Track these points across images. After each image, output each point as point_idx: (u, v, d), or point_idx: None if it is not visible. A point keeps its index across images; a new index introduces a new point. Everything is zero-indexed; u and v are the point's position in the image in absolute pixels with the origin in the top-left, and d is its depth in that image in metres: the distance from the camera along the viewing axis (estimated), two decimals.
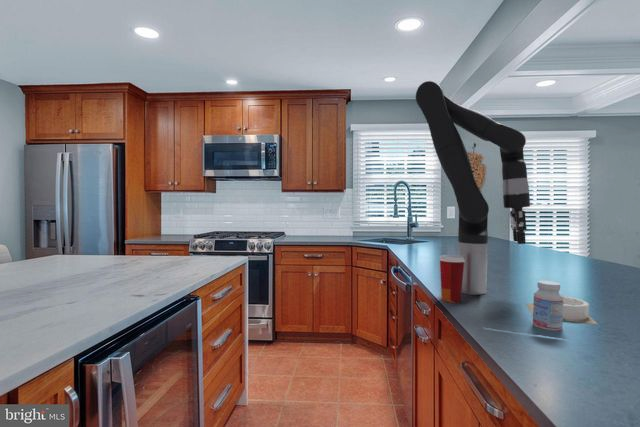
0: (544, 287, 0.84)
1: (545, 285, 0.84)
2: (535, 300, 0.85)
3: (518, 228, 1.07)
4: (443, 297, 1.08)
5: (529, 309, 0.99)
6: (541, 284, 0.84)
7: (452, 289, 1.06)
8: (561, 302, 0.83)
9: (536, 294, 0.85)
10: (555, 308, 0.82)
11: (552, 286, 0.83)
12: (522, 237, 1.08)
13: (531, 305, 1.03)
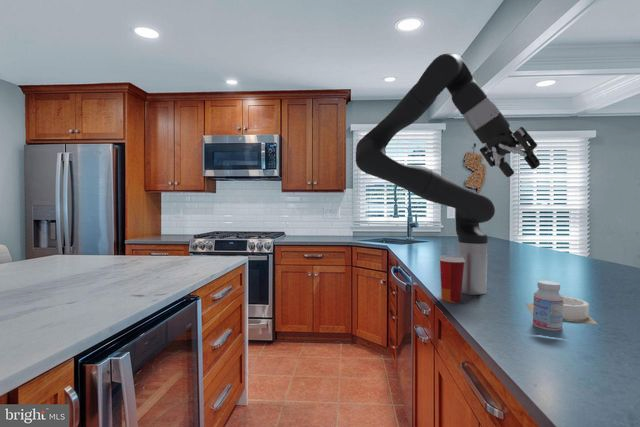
0: (544, 287, 0.84)
1: (545, 285, 0.84)
2: (535, 300, 0.85)
3: (530, 148, 0.81)
4: (443, 297, 1.08)
5: (529, 309, 0.99)
6: (541, 284, 0.84)
7: (452, 289, 1.06)
8: (561, 302, 0.83)
9: (536, 294, 0.85)
10: (555, 308, 0.82)
11: (552, 286, 0.83)
12: (535, 158, 0.83)
13: (531, 305, 1.03)
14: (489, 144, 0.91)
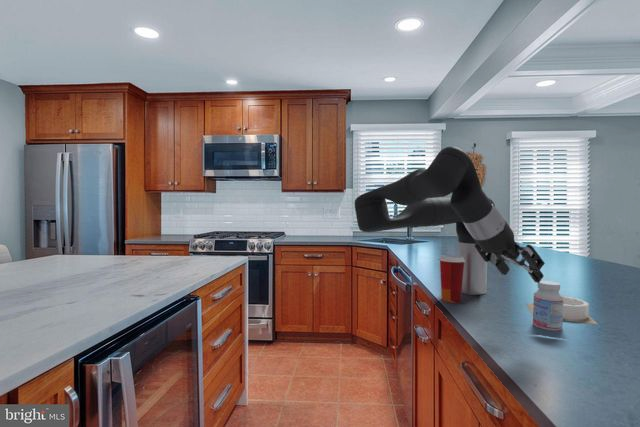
0: (544, 287, 0.84)
1: (545, 285, 0.84)
2: (535, 300, 0.85)
3: (538, 269, 0.73)
4: (443, 297, 1.08)
5: (529, 309, 0.99)
6: (541, 284, 0.84)
7: (452, 289, 1.06)
8: (561, 302, 0.83)
9: (536, 294, 0.85)
10: (555, 308, 0.82)
11: (552, 286, 0.83)
12: (540, 273, 0.76)
13: (531, 305, 1.03)
14: None
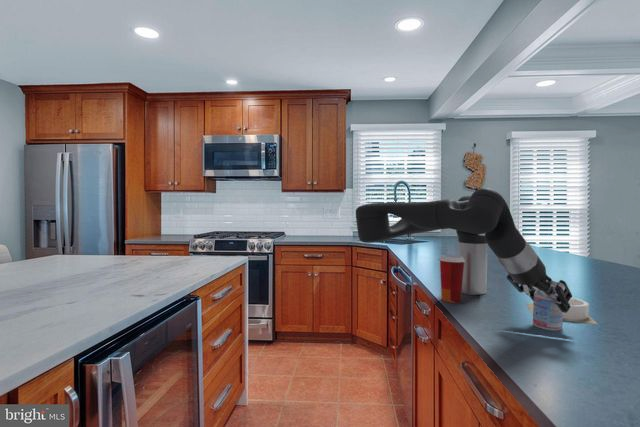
0: None
1: None
2: (535, 300, 0.85)
3: (567, 302, 0.79)
4: (443, 297, 1.08)
5: (529, 309, 0.99)
6: None
7: (452, 289, 1.06)
8: None
9: (536, 294, 0.85)
10: (555, 308, 0.82)
11: None
12: (567, 304, 0.81)
13: (531, 305, 1.03)
14: None
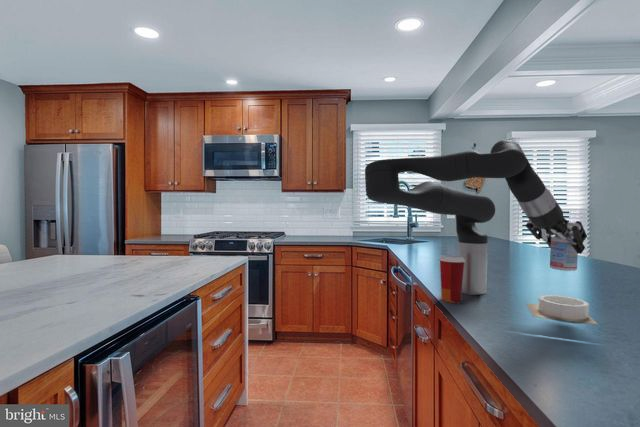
0: None
1: None
2: (552, 244, 0.94)
3: (582, 241, 0.87)
4: (443, 297, 1.08)
5: (529, 309, 0.99)
6: None
7: (452, 289, 1.06)
8: None
9: (553, 238, 0.94)
10: (571, 249, 0.91)
11: None
12: (582, 245, 0.90)
13: (531, 305, 1.03)
14: None
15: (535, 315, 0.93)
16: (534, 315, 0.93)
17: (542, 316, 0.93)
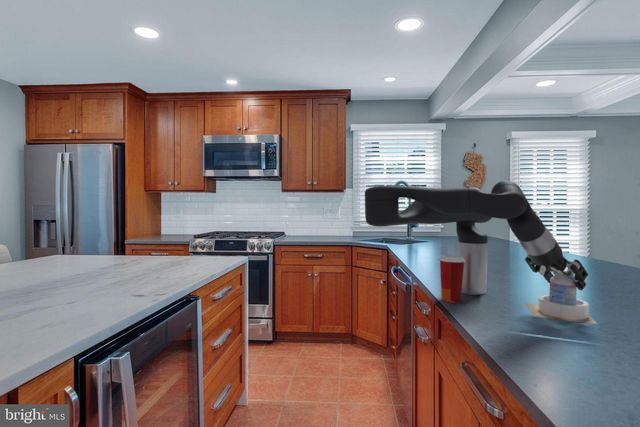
0: None
1: None
2: (551, 285, 0.96)
3: (583, 279, 0.88)
4: (443, 297, 1.08)
5: (529, 309, 0.99)
6: None
7: (452, 289, 1.06)
8: (575, 287, 0.93)
9: (552, 280, 0.95)
10: (570, 292, 0.93)
11: None
12: (583, 282, 0.91)
13: (531, 305, 1.03)
14: None
15: (535, 315, 0.93)
16: (534, 315, 0.93)
17: (542, 316, 0.93)
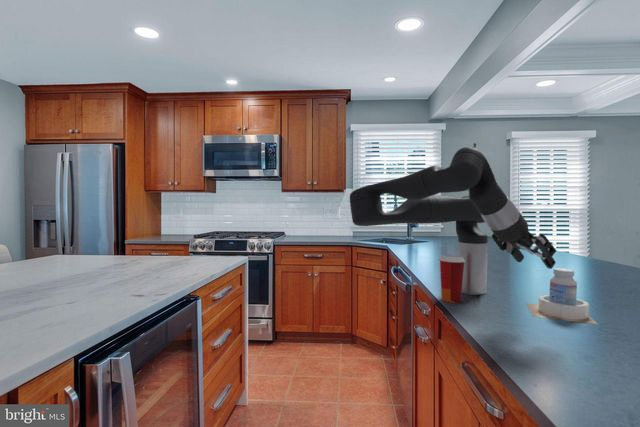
0: (560, 273, 0.94)
1: (561, 272, 0.94)
2: (551, 285, 0.96)
3: (551, 256, 0.80)
4: (443, 297, 1.08)
5: (529, 309, 0.99)
6: (557, 271, 0.95)
7: (452, 289, 1.06)
8: (575, 287, 0.93)
9: (553, 280, 0.95)
10: (570, 292, 0.93)
11: (567, 272, 0.93)
12: (552, 260, 0.83)
13: (531, 305, 1.03)
14: None
15: (535, 315, 0.93)
16: (534, 315, 0.93)
17: (542, 316, 0.93)
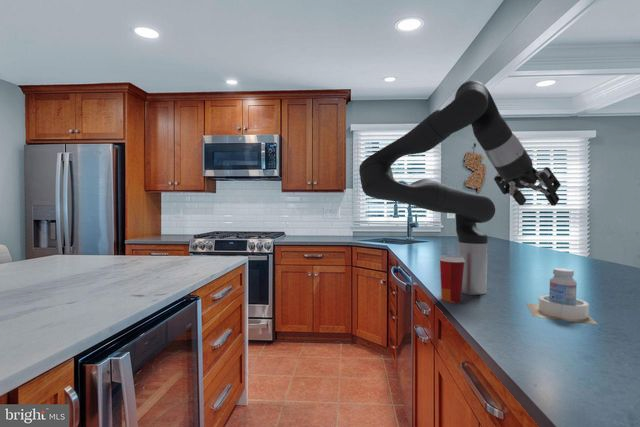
0: (560, 273, 0.94)
1: (560, 272, 0.94)
2: (551, 285, 0.96)
3: (555, 190, 0.80)
4: (443, 297, 1.08)
5: (529, 309, 0.99)
6: (557, 271, 0.95)
7: (452, 289, 1.06)
8: (575, 286, 0.93)
9: (552, 280, 0.95)
10: (570, 292, 0.93)
11: (567, 272, 0.93)
12: (556, 196, 0.83)
13: (531, 305, 1.03)
14: None
15: (535, 315, 0.93)
16: (534, 315, 0.93)
17: (542, 316, 0.93)
